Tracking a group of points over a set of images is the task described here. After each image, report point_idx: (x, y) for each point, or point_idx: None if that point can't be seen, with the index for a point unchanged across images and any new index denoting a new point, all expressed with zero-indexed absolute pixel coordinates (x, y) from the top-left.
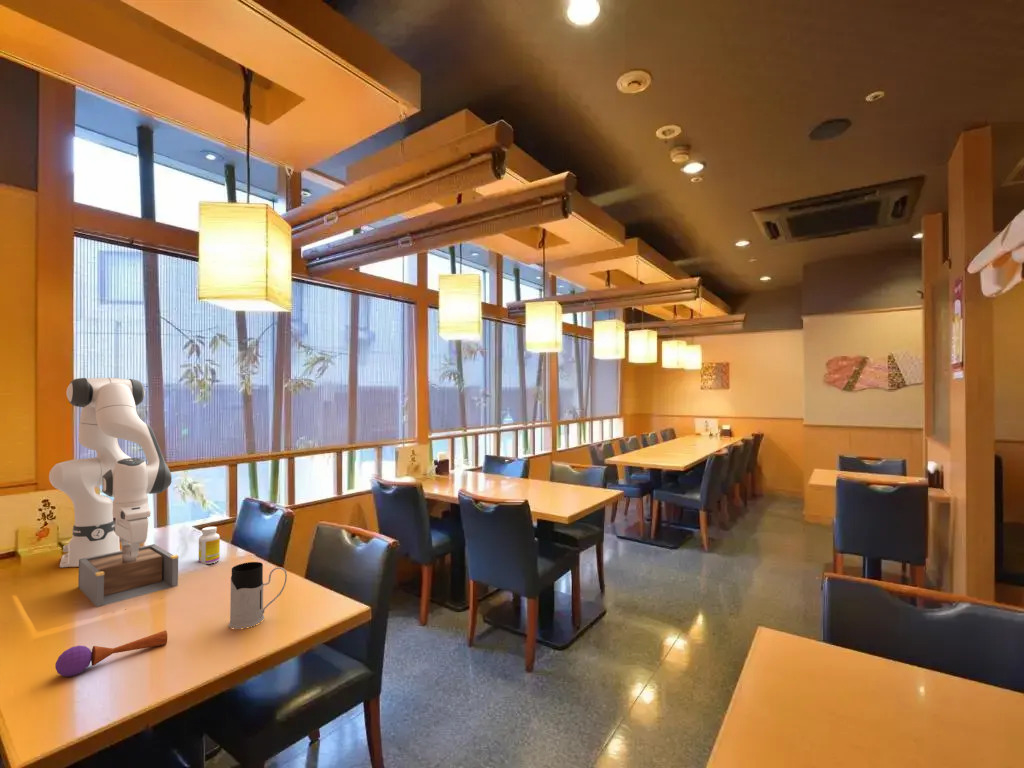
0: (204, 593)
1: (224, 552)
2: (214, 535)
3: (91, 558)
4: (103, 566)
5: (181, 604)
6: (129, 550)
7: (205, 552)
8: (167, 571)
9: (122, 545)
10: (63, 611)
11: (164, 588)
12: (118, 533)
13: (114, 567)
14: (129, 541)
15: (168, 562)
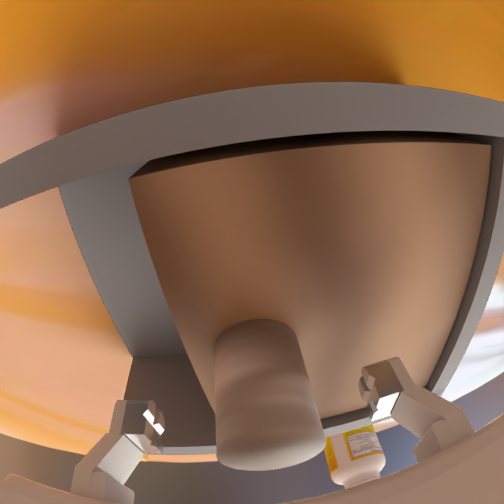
0: (76, 383)
1: (384, 420)
2: (340, 484)
3: (500, 166)
4: (238, 208)
5: (22, 339)
6: (216, 425)
7: (331, 439)
8: (179, 390)
9: (399, 394)
10: (148, 24)
11: (130, 342)
12: (470, 471)
13: (159, 273)
14: (39, 499)
15: (166, 424)
